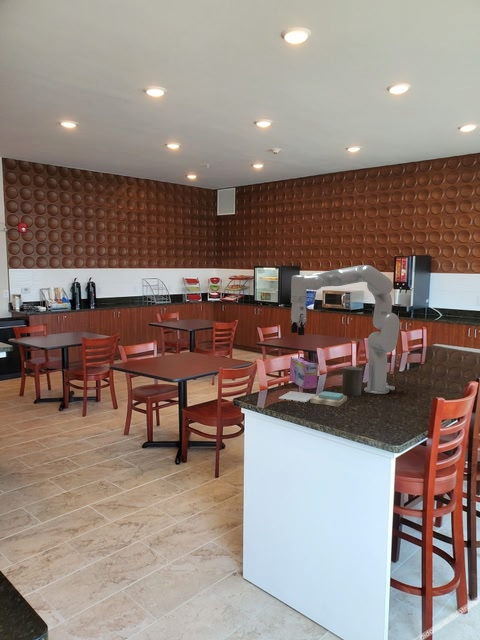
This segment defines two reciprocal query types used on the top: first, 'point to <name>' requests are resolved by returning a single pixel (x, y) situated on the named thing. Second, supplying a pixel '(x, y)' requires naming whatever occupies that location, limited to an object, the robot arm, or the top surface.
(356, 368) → the dark brown cylinder
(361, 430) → the top surface
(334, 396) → the teal card
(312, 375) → the pink purple printed box
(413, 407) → the top surface
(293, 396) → the grey mat
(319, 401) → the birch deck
